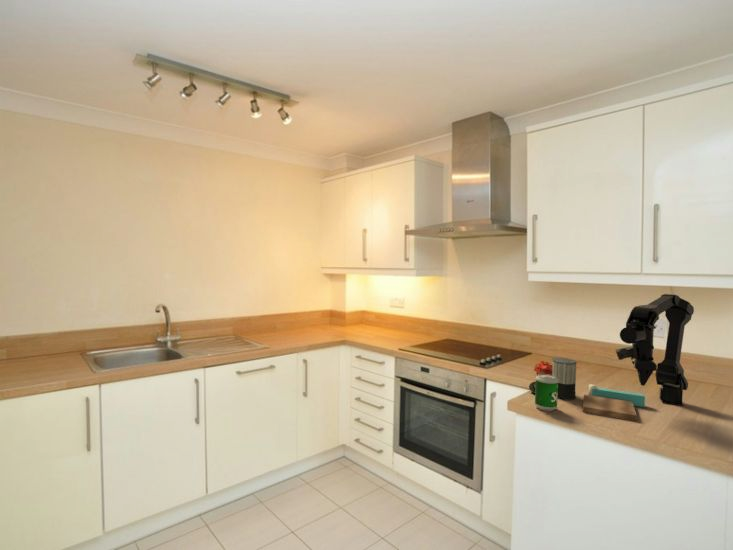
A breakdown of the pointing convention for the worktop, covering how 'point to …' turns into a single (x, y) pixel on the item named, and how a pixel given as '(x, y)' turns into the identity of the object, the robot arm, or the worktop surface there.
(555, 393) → the soda can
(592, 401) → the flat wooden board
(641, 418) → the worktop surface
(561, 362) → the milk frother
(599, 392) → the folding leg
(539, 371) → the dragon fruit
